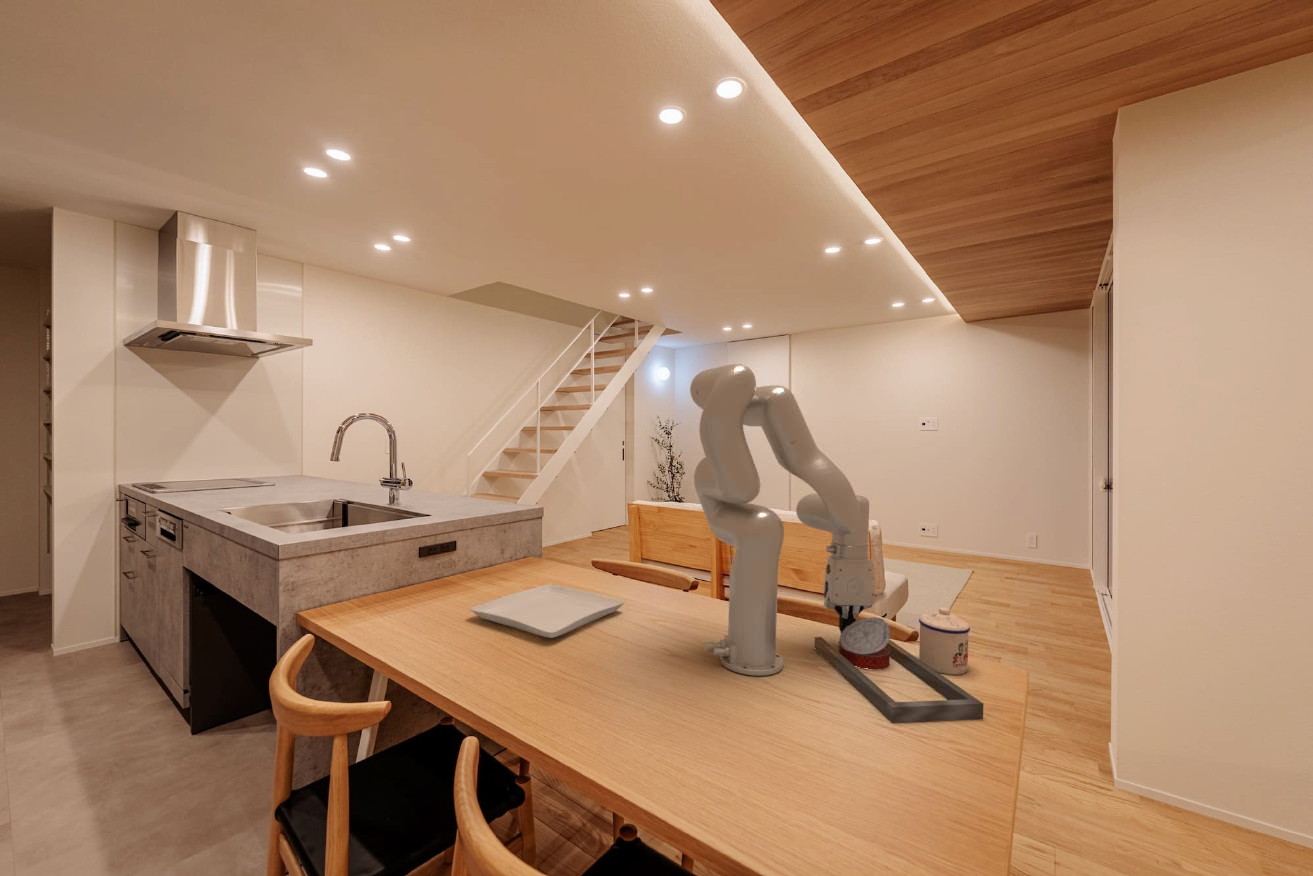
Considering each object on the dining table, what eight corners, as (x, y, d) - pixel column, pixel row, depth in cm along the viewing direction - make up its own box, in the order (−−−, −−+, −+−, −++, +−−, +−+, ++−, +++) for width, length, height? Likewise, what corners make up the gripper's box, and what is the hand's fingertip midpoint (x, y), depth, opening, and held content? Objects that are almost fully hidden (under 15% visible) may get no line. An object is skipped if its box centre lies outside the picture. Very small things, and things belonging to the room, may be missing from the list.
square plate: (627, 614, 134) (627, 599, 134) (551, 650, 111) (551, 631, 111) (548, 594, 148) (549, 581, 148) (467, 622, 125) (467, 606, 125)
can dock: (892, 722, 85) (892, 707, 85) (814, 648, 114) (814, 637, 114) (983, 718, 87) (983, 703, 87) (883, 647, 116) (884, 635, 116)
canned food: (889, 691, 106) (902, 657, 101) (837, 680, 107) (847, 646, 102) (879, 645, 115) (891, 613, 111) (832, 636, 117) (842, 604, 112)
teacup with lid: (962, 680, 100) (964, 619, 100) (912, 665, 107) (913, 608, 107) (976, 661, 109) (978, 605, 109) (928, 649, 116) (930, 596, 115)
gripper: (825, 555, 111) (822, 642, 111) (890, 555, 113) (888, 640, 113) (810, 547, 119) (807, 629, 119) (871, 547, 121) (869, 627, 121)
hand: (847, 634), depth 116 cm, fingers closed
